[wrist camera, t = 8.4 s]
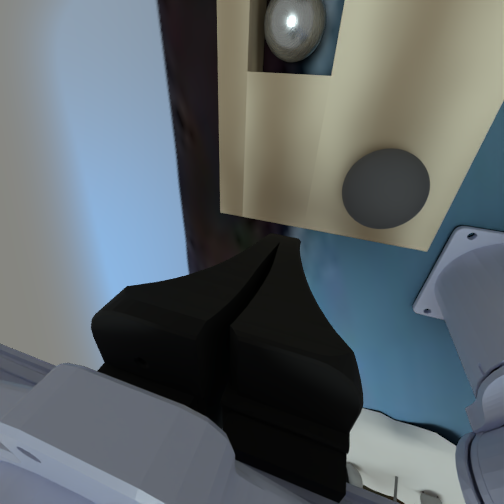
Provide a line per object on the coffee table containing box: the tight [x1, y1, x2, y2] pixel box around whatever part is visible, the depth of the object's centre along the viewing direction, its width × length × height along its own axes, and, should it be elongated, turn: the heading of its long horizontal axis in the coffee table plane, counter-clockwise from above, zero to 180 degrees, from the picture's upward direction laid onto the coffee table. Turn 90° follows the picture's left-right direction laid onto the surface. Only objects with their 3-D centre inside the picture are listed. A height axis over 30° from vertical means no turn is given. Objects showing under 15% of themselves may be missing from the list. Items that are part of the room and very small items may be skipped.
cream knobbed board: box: [217, 0, 504, 252], centre depth 13 cm, size 14×22×3 cm, turn 177°
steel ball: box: [264, 0, 326, 62], centre depth 14 cm, size 3×3×3 cm
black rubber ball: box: [342, 148, 430, 229], centre depth 13 cm, size 4×4×4 cm
